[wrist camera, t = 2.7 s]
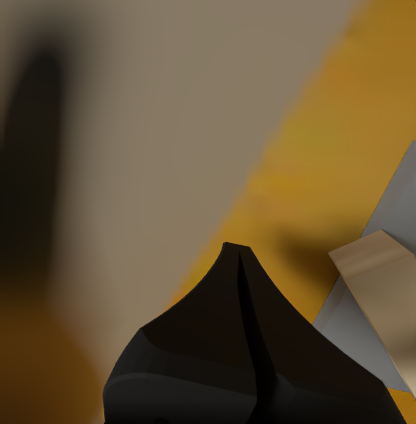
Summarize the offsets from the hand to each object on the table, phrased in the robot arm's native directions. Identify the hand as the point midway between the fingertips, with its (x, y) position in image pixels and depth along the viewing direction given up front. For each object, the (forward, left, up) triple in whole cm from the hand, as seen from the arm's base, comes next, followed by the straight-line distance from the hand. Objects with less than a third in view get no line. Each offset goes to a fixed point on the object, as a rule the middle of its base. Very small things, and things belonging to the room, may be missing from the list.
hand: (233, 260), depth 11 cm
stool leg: (-5, -12, -3) cm, 13 cm away
